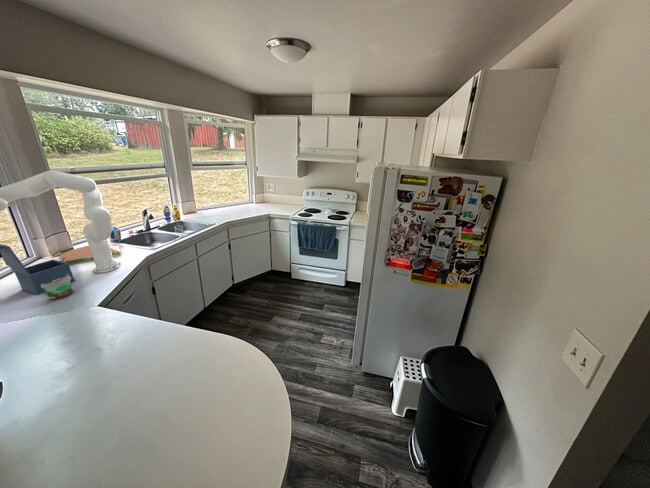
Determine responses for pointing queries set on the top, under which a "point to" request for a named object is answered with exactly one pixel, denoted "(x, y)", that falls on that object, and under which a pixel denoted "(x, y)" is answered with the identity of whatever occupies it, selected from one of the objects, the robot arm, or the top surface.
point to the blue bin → (43, 275)
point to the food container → (58, 288)
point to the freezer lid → (12, 260)
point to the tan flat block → (83, 253)
